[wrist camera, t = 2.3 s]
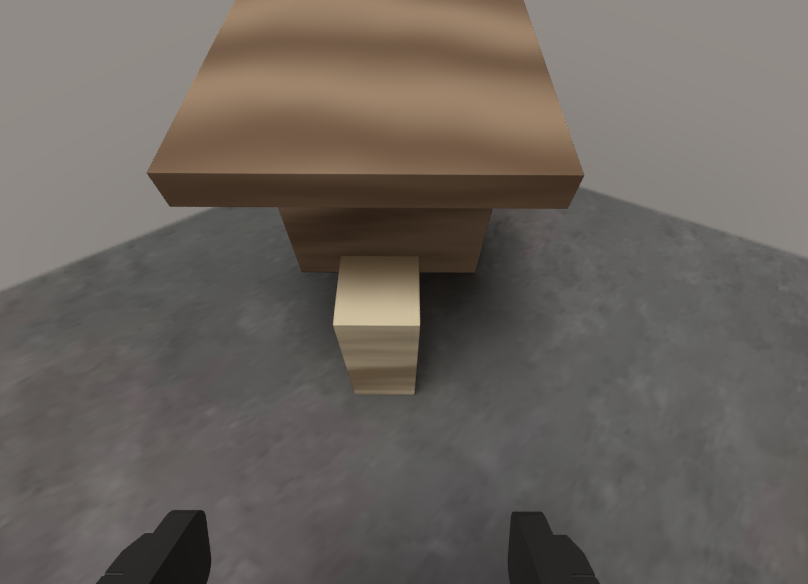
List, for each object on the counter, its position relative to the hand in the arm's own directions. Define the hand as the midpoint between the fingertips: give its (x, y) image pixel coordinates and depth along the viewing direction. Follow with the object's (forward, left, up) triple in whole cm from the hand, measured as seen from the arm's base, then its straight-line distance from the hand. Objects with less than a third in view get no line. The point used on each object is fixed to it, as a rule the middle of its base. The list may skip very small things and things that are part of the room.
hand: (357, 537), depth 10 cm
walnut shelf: (-12, -12, -14) cm, 22 cm away
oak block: (-7, -7, -14) cm, 17 cm away
